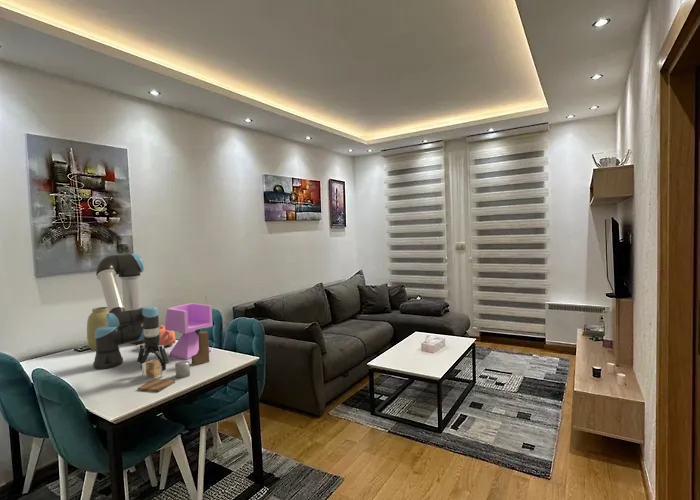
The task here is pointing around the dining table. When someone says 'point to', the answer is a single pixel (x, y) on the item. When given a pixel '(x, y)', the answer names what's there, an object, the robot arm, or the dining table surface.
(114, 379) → the dining table surface
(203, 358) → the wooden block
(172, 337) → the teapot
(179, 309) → the chair
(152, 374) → the oak block
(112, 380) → the dining table surface
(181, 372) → the grey dome cap
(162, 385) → the walnut board
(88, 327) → the vase
